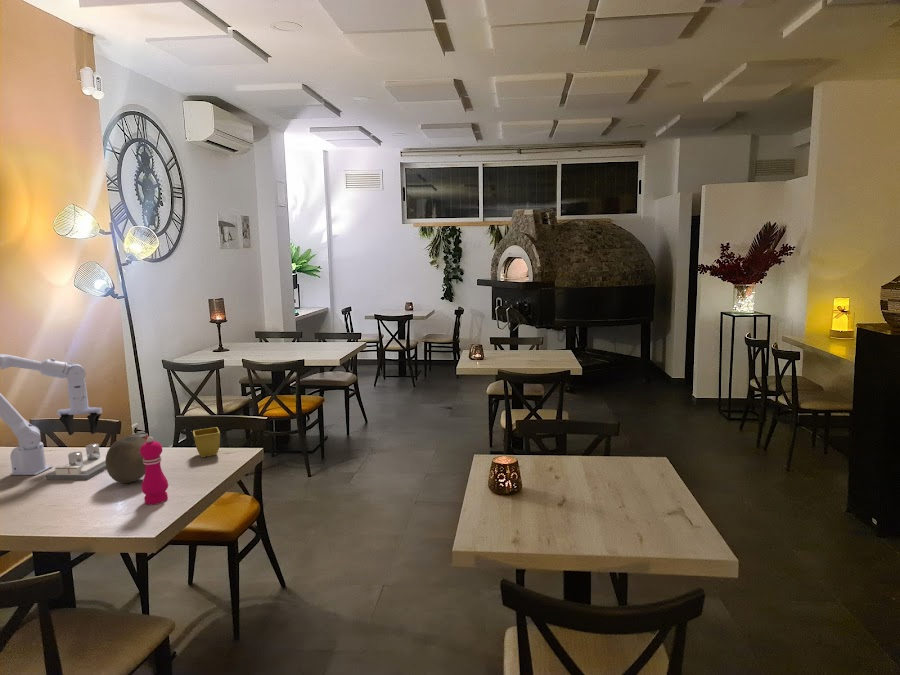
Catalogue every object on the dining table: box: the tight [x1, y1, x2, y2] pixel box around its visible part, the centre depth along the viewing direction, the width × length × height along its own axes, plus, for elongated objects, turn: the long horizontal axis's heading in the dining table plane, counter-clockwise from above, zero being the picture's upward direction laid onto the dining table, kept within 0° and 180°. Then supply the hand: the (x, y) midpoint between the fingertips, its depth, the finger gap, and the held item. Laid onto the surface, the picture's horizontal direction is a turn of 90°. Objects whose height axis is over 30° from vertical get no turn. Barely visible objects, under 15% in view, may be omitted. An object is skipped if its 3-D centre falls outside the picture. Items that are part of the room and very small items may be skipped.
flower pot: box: [192, 426, 221, 458], centre depth 220 cm, size 9×9×9 cm
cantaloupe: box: [105, 435, 147, 484], centre depth 195 cm, size 14×14×15 cm
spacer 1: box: [67, 451, 84, 468], centre depth 204 cm, size 4×4×5 cm
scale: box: [45, 456, 107, 480], centre depth 208 cm, size 15×17×4 cm
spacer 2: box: [85, 443, 101, 461], centre depth 212 cm, size 4×4×5 cm
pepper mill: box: [140, 436, 169, 505], centre depth 179 cm, size 7×7×20 cm
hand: (82, 433), depth 216 cm, fingers open, 7 cm apart
